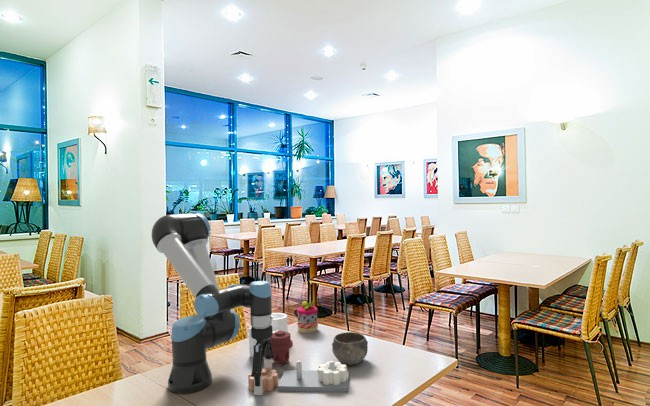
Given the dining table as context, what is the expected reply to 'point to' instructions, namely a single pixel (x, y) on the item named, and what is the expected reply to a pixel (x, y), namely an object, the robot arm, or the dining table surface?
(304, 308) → the cake
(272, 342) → the mechanical component
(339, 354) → the bowl
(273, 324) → the white joined open cylinders
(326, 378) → the gear
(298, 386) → the gear board
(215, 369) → the dining table surface
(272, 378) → the gear
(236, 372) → the dining table surface
